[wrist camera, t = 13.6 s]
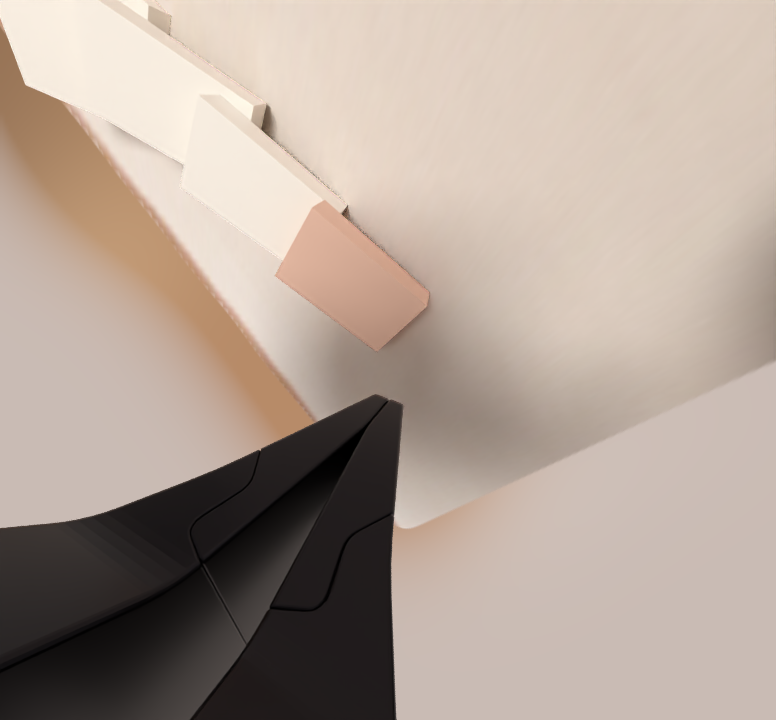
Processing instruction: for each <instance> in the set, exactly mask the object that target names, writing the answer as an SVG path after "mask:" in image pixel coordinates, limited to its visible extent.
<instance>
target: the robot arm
mask: <svg viewBox="0 0 776 720" xmlns="http://www.w3.org/2000/svg"><path fill="white" fill-rule="evenodd" d="M402 416H403V404H401V403H399V402H396V401H393V400H388V399H387V398H385V397H383V396H380V395H377V394H375V395H372V396H370V397H368V398H366V399H364V400H362V401H360V402H358V403H356V404H353V405H351V406H349V407H347V408H345V409H343V410H341V411H339V412H337V413H335V414H333V415H331V416H328V417H326V418H324V419H322V420H320V421H318V422H316V423H314V424H312V425H310V426H308V427H305V428H304V429H301V430H299V431H297V432H295V433H293V434H291V435H289V436H287V437H285V438H282V439H281V440H278V441H276V442H274V443H272V444H270V445H268V446H266V447H264V448H262V449H261V451H260V450H257V451H255V452H253V453H251V454H249V455H247V456H245V457H242V458H240V459H238V460H236V461H234V462H231V463H229V464H227V465H225V466H223V467H220V468H218V469H216V470H213V471H211V472H208V473H206V474H203V475H201V476H199V477H196V478H194V479H191V480H189V481H186V482H183V483H181V484H178V485H176V486H173V487H170V488H168V489H165V490H163V491H160V492H158V493H155V494H152V495H150V496H147V497H145V498H142V499H140V500H137V501H134V502H132V503H129V504H126V505H124V506H121V507H119V508H116V509H113V510H110V511H107V512H104V513H101V514H98V515H94V516H90V517H86V518H82V519H77V520H72V521H66V522H59V523H50V524H40V525H29V526H18V527H8V528H0V720H396V702H395V675H394V651H393V650H394V649H393V623H392V598H391V596H392V595H391V557H392V537H393V524H394V510H395V499H396V487H397V475H398V463H399V451H400V440H401V428H402Z"/></svg>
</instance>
